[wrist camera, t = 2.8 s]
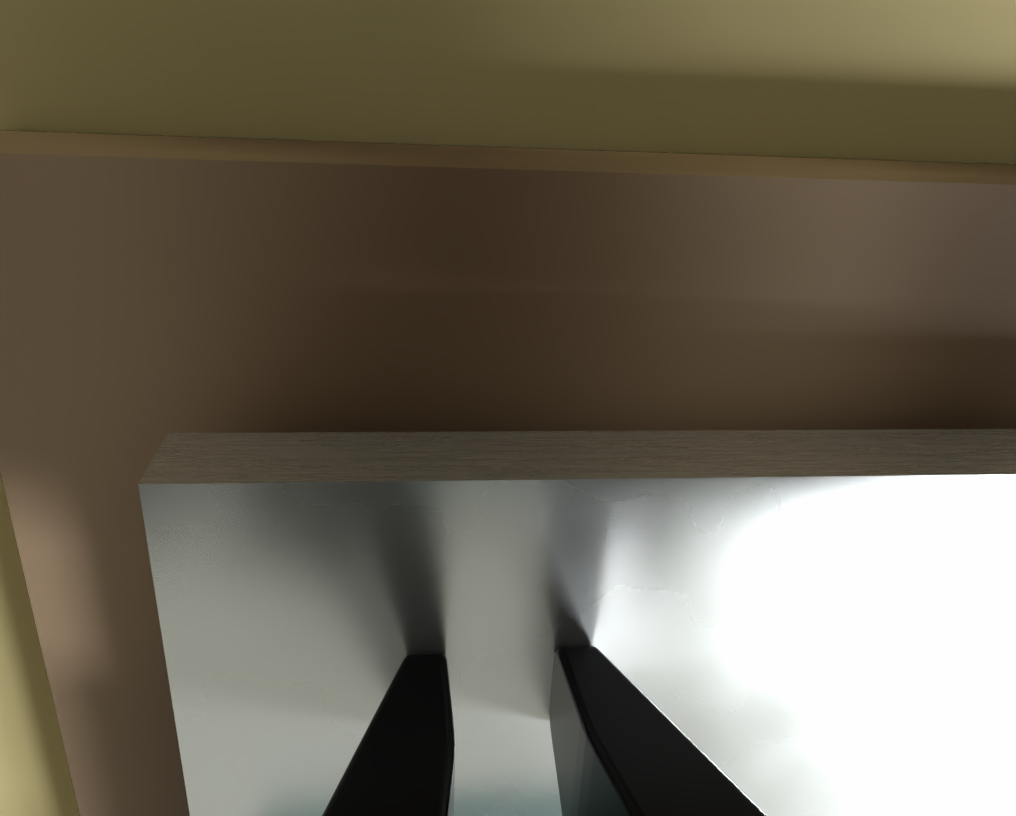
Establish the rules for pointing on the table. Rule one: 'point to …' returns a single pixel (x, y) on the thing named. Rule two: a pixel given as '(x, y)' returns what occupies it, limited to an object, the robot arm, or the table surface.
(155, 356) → the board
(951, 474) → the white flat bar piece
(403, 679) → the robot arm
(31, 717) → the table surface
